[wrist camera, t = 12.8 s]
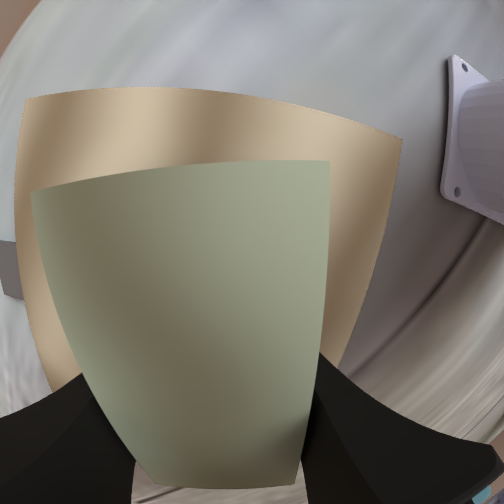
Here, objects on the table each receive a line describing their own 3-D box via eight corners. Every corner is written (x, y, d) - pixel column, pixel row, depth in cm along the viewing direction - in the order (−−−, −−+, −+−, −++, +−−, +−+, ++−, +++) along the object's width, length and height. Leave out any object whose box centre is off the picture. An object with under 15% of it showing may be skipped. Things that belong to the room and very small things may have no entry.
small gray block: (38, 241, 10) (27, 247, 10) (46, 294, 11) (37, 303, 10) (5, 238, 10) (-6, 243, 9) (13, 287, 11) (4, 294, 10)
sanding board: (383, 140, 10) (402, 138, 8) (291, 430, 15) (295, 448, 13) (45, 103, 8) (25, 99, 7) (67, 392, 13) (59, 407, 12)
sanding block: (275, 162, 8) (330, 160, 3) (275, 385, 11) (294, 484, 6) (133, 173, 8) (30, 192, 3) (174, 388, 11) (155, 484, 6)
